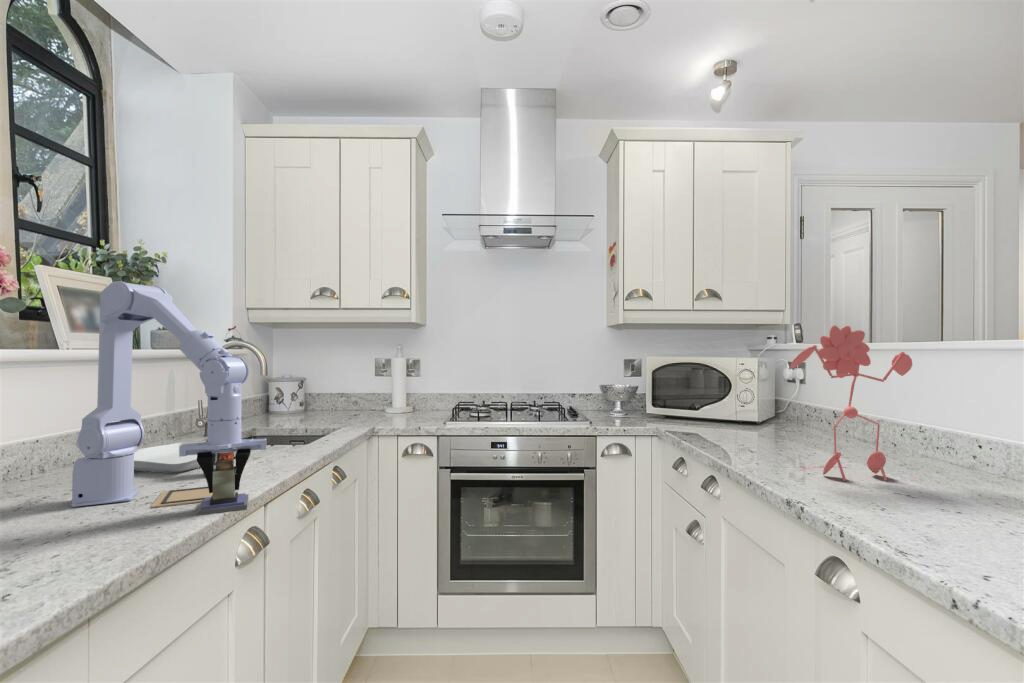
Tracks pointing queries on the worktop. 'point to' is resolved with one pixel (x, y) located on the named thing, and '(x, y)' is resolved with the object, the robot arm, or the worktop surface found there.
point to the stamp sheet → (182, 497)
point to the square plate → (165, 459)
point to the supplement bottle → (223, 456)
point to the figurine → (845, 357)
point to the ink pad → (223, 505)
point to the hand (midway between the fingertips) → (224, 490)
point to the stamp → (224, 483)
